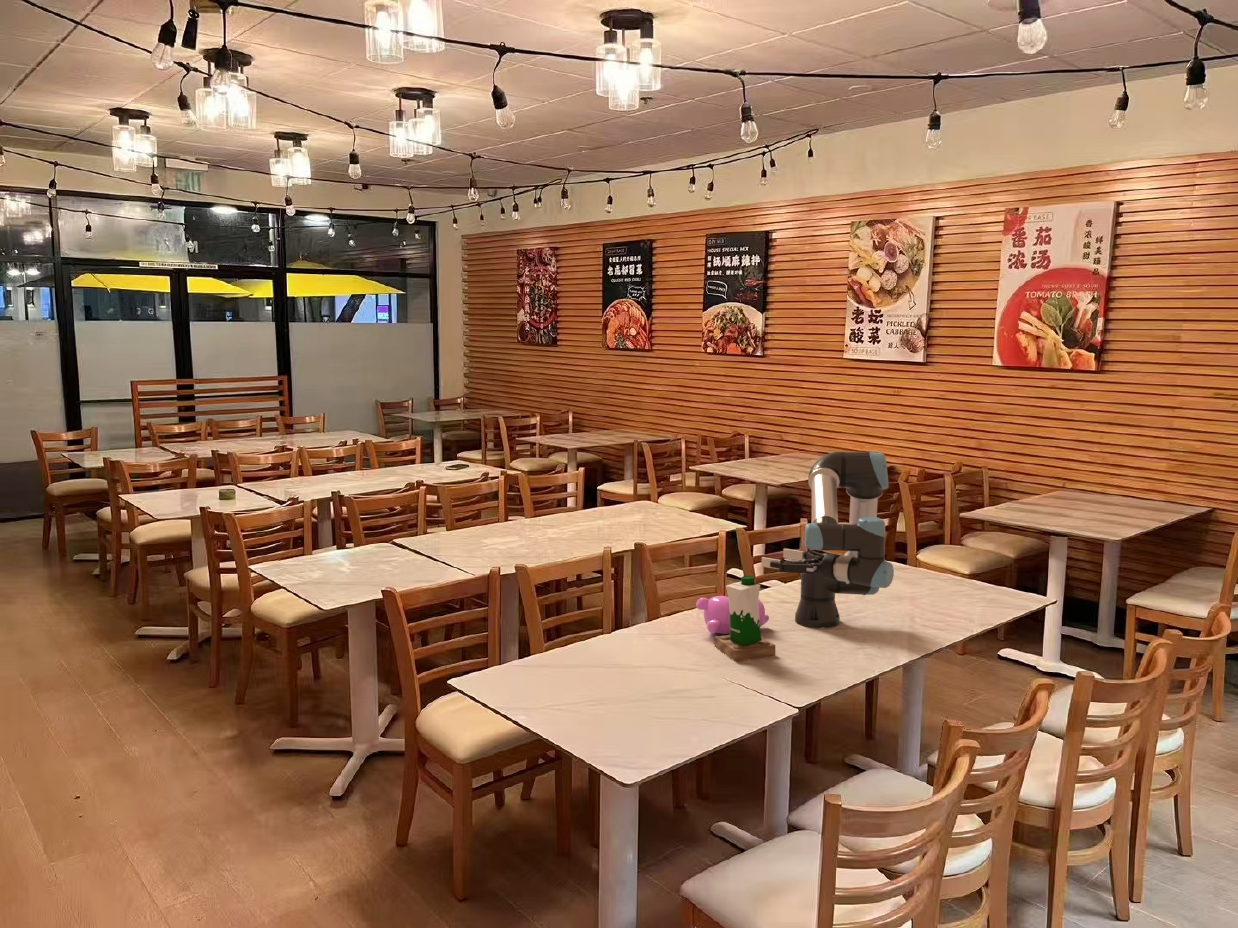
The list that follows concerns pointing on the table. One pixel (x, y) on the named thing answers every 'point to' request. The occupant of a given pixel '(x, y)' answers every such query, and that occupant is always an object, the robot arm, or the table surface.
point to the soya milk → (744, 611)
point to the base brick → (744, 648)
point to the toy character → (722, 613)
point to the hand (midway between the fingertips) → (773, 557)
